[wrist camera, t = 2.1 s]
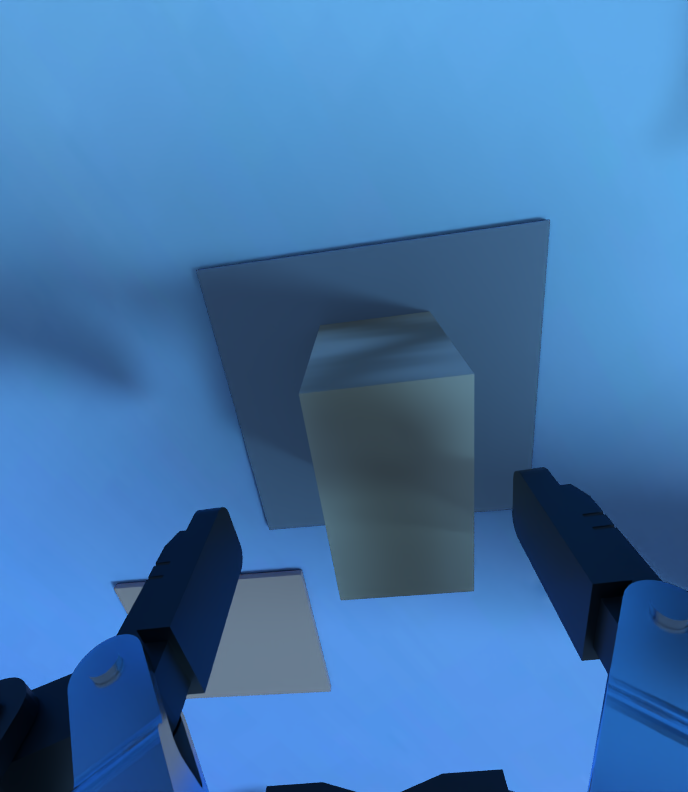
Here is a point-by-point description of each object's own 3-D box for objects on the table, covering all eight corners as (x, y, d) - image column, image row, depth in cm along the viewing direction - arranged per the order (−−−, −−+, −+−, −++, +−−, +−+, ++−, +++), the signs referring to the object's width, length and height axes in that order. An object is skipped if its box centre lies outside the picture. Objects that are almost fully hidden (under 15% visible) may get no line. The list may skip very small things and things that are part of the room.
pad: (301, 569, 20) (301, 574, 20) (331, 686, 24) (330, 691, 24) (117, 583, 21) (113, 588, 21) (175, 693, 25) (173, 699, 25)
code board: (547, 219, 13) (550, 219, 13) (526, 504, 18) (528, 507, 18) (198, 269, 14) (196, 270, 14) (270, 526, 19) (269, 529, 19)
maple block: (429, 311, 14) (474, 374, 9) (436, 470, 17) (474, 591, 12) (320, 325, 15) (298, 393, 9) (345, 479, 18) (340, 600, 12)
